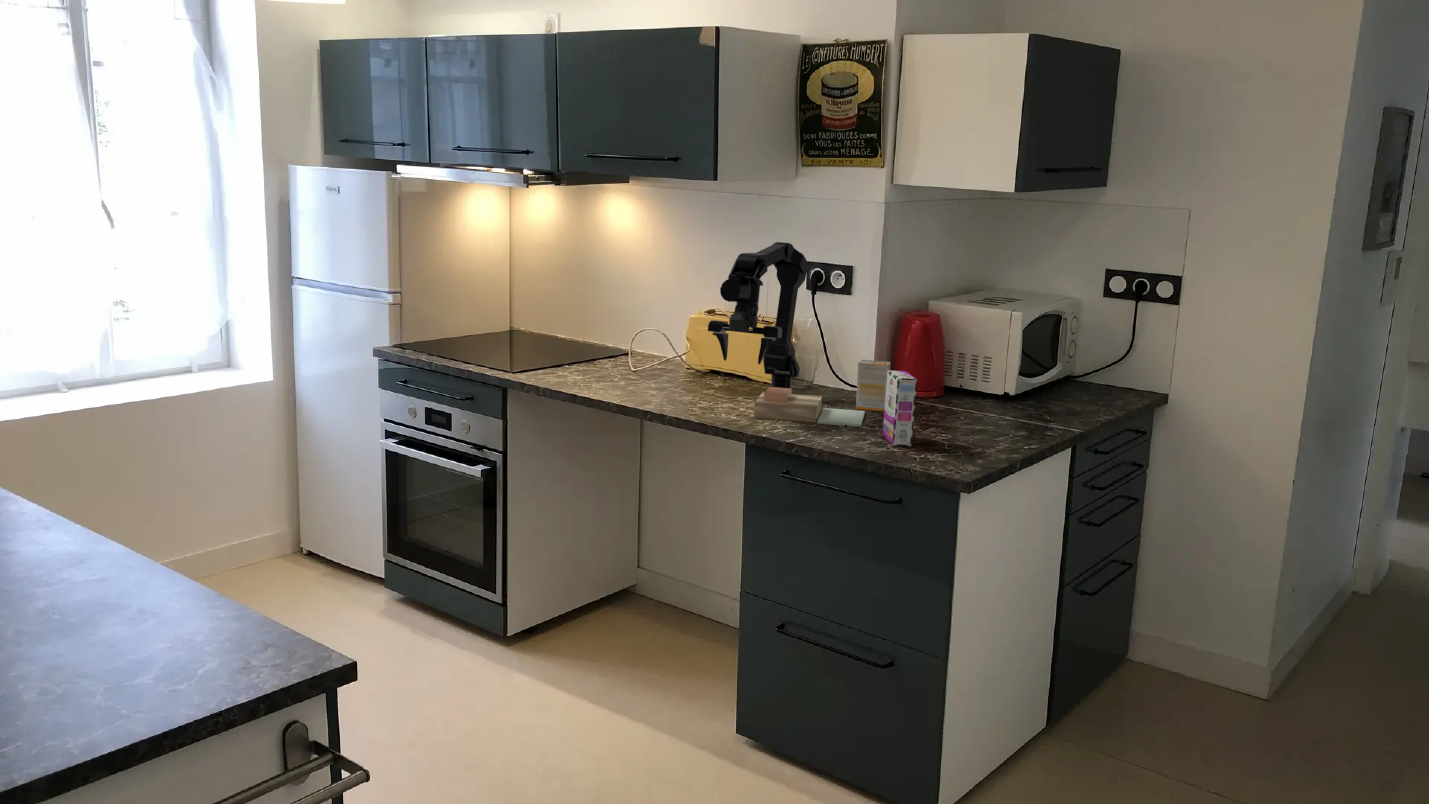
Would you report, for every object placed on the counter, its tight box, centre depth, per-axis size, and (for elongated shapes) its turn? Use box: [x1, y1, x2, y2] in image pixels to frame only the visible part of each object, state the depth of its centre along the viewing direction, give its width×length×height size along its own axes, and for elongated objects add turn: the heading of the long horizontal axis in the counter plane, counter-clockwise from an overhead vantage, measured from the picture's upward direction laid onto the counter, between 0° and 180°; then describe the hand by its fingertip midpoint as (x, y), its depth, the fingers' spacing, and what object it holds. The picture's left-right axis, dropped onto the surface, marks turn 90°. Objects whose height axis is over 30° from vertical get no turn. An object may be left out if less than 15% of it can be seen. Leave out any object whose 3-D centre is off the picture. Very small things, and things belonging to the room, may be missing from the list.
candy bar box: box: [882, 370, 918, 447], centre depth 266 cm, size 11×5×16 cm, turn 5°
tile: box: [764, 386, 792, 403], centre depth 292 cm, size 9×6×2 cm, turn 169°
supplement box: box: [855, 359, 891, 413], centre depth 300 cm, size 8×5×13 cm, turn 71°
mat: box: [817, 407, 866, 428], centre depth 290 cm, size 16×11×1 cm
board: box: [753, 391, 823, 423], centre depth 292 cm, size 14×16×4 cm
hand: (742, 362), depth 291 cm, fingers open, 9 cm apart
